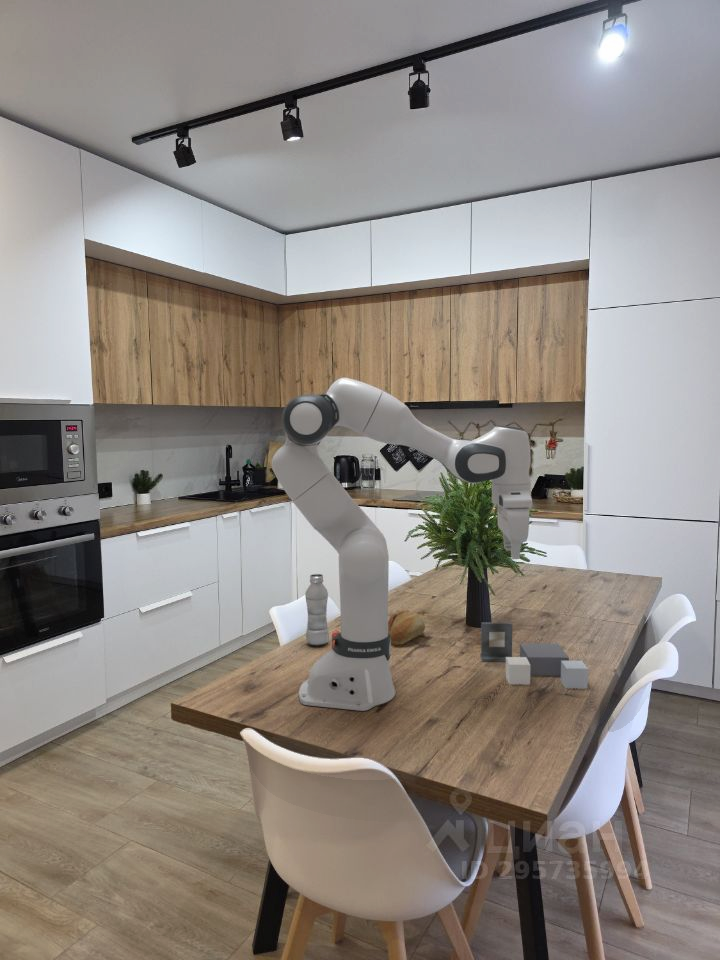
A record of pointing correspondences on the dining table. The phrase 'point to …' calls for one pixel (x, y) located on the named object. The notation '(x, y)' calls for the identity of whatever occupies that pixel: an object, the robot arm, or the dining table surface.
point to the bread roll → (405, 626)
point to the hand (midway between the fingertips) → (511, 554)
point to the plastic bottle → (317, 611)
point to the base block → (544, 658)
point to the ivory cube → (518, 670)
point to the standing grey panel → (496, 642)
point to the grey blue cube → (574, 674)
